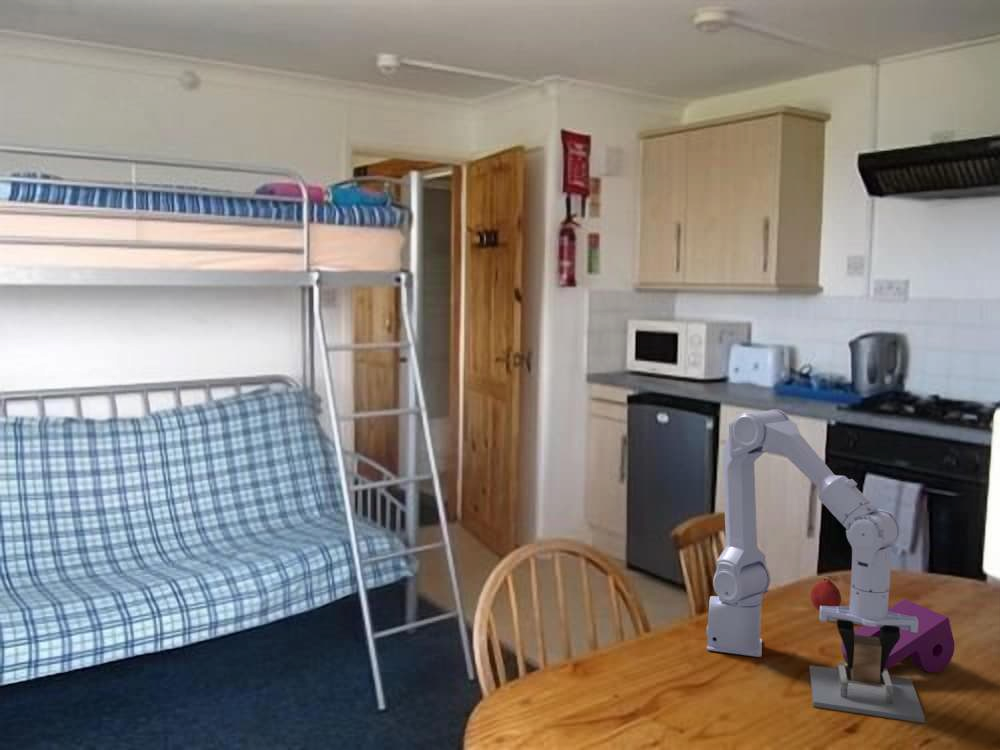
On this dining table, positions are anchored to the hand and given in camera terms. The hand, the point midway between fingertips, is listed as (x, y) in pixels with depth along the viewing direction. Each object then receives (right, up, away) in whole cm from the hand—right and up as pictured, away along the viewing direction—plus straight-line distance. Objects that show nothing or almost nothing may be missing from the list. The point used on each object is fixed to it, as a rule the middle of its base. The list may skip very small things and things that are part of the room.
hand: (864, 668), depth 140 cm
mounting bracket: (+9, -3, +11) cm, 15 cm away
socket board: (0, -5, 0) cm, 4 cm away
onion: (+7, -1, +35) cm, 36 cm away
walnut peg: (0, -2, 0) cm, 2 cm away
